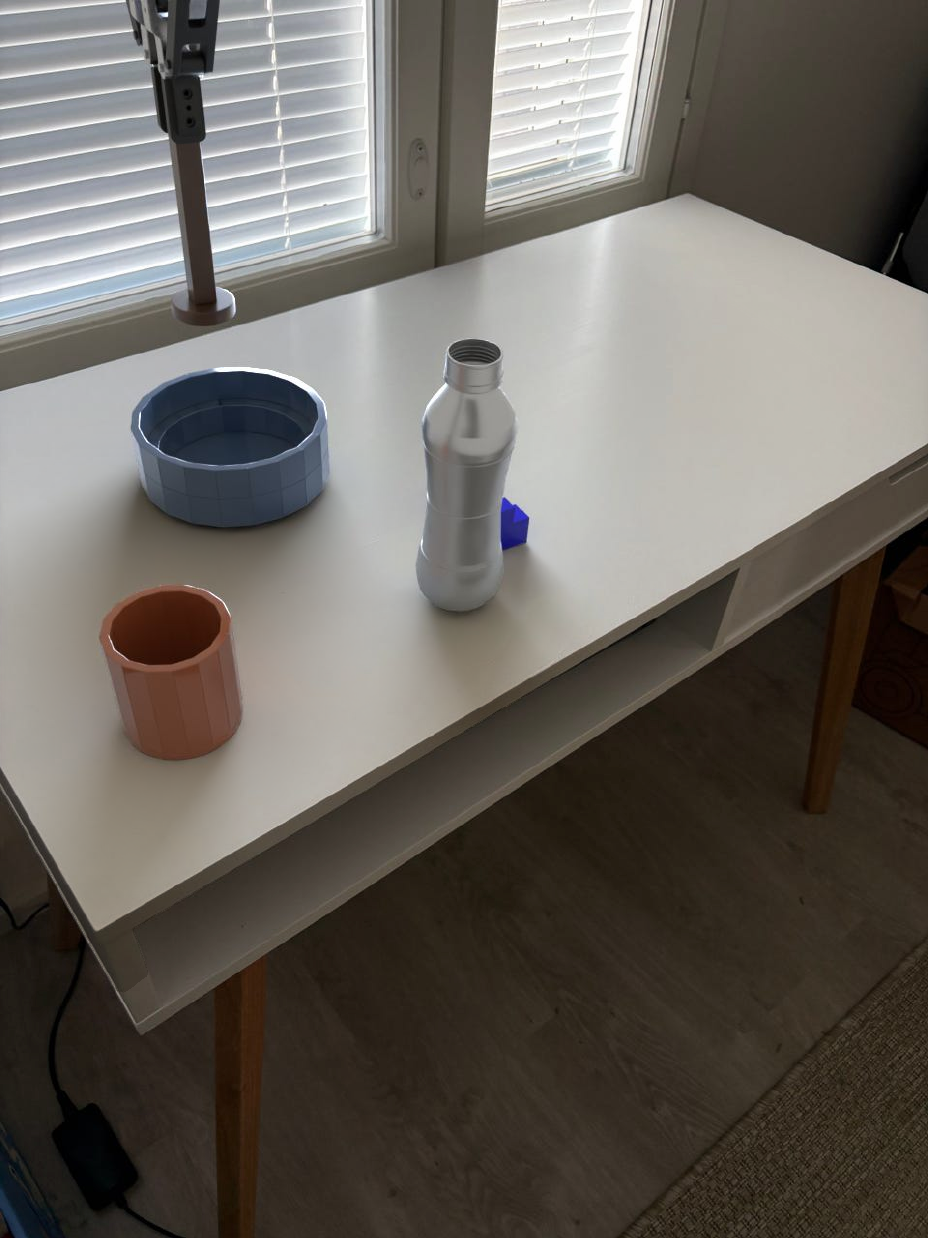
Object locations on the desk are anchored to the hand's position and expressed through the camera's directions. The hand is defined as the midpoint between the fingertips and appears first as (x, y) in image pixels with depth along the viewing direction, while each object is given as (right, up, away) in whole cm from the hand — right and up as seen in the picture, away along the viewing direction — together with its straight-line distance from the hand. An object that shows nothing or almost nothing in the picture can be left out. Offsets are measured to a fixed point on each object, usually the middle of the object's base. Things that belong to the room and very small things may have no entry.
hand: (182, 134), depth 64 cm
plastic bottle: (+17, -29, +12) cm, 36 cm away
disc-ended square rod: (-1, -9, +8) cm, 12 cm away
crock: (0, -37, +2) cm, 37 cm away
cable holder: (+19, -23, +19) cm, 35 cm away
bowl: (-1, -19, +21) cm, 28 cm away
